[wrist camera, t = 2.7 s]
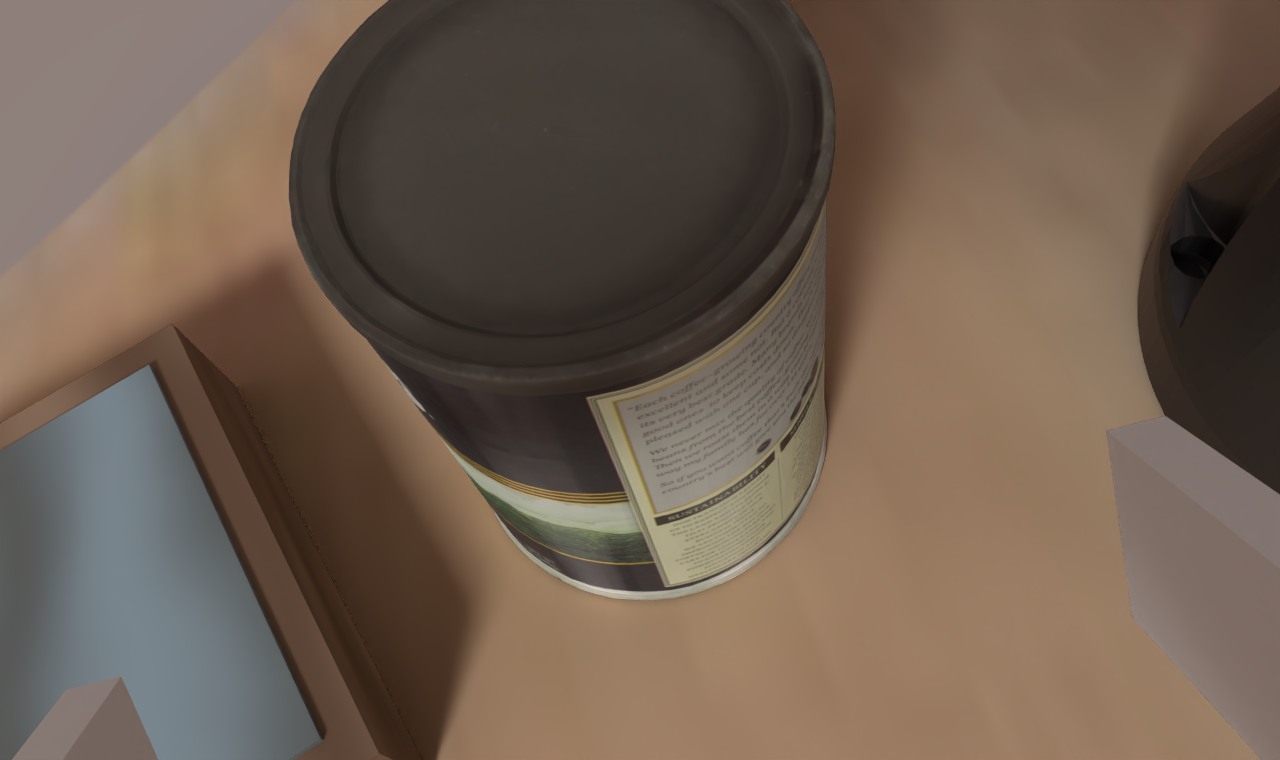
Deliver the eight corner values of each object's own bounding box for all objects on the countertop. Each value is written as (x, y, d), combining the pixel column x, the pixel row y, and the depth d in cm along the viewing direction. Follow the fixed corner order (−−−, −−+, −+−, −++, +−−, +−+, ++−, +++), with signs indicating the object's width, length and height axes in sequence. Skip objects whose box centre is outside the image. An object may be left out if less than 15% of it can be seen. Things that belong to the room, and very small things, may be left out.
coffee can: (487, 630, 32) (273, 419, 20) (474, 308, 37) (294, -26, 24) (862, 578, 31) (887, 324, 19) (800, 255, 36) (786, -119, 24)
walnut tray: (235, 385, 37) (168, 320, 33) (430, 777, 31) (376, 752, 27) (-180, 629, 35) (-299, 590, 31) (-62, 1098, 29) (-193, 1119, 25)
